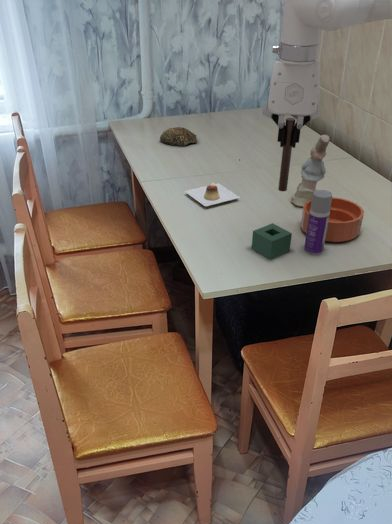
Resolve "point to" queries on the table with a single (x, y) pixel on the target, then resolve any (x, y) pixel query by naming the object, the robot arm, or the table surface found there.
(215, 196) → the dessert
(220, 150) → the table surface
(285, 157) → the stick
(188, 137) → the brown rock
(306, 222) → the bowl
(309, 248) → the container
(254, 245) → the holder
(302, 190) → the figurine
